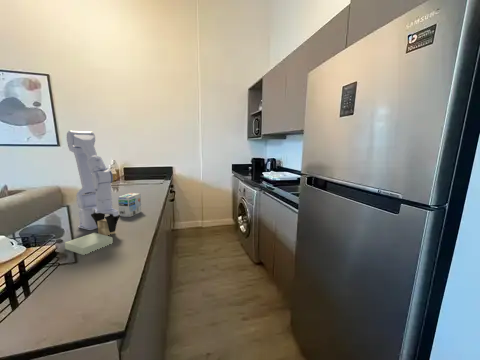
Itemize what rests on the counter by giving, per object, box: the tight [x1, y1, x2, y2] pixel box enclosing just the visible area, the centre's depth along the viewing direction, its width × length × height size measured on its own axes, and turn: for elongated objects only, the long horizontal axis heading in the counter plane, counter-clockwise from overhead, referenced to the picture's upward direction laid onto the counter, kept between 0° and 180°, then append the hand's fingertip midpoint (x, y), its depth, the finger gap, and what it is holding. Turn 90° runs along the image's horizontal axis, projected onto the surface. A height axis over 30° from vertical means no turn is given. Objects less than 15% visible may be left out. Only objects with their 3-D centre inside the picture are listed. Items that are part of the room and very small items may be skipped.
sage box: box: [64, 232, 114, 256], centre depth 90 cm, size 11×11×3 cm
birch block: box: [97, 218, 116, 236], centre depth 102 cm, size 4×4×6 cm
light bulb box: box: [117, 192, 142, 218], centre depth 131 cm, size 11×7×11 cm, turn 168°
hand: (106, 230), depth 102 cm, fingers open, 7 cm apart
